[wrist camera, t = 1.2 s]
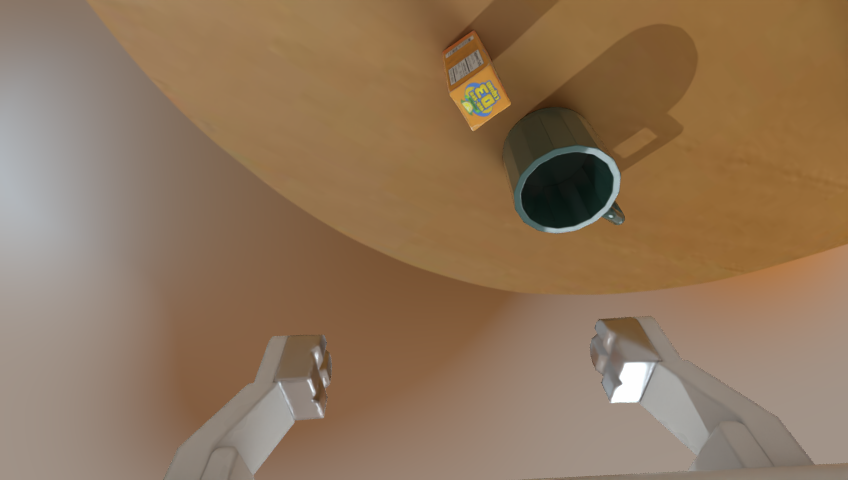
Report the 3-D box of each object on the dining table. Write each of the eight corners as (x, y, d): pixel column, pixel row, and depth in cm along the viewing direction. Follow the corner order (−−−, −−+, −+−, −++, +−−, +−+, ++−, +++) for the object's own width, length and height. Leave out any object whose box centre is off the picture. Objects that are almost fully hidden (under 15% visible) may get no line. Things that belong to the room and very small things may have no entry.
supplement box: (496, 61, 34) (514, 108, 26) (461, 84, 35) (468, 136, 28) (476, 24, 32) (489, 64, 25) (439, 50, 34) (441, 96, 26)
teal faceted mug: (484, 161, 40) (493, 205, 34) (544, 88, 35) (566, 125, 30) (570, 213, 44) (591, 261, 38) (634, 154, 39) (669, 198, 33)
